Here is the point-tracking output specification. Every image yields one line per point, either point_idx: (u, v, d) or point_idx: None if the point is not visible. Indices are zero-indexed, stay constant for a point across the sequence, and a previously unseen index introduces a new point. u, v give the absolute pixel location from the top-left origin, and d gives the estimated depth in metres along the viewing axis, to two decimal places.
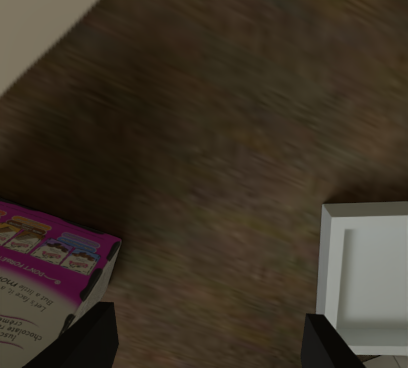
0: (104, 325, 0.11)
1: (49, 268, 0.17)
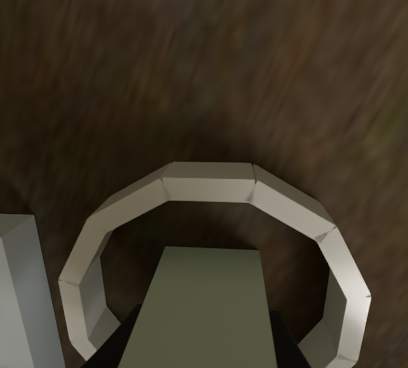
0: None
1: None
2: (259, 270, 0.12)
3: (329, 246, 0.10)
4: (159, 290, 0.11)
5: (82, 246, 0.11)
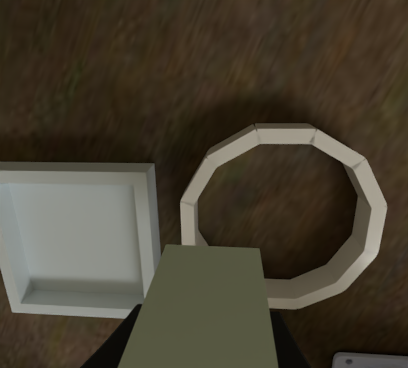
0: None
1: None
2: (259, 268, 0.12)
3: (361, 172, 0.17)
4: (160, 288, 0.11)
5: (199, 177, 0.17)
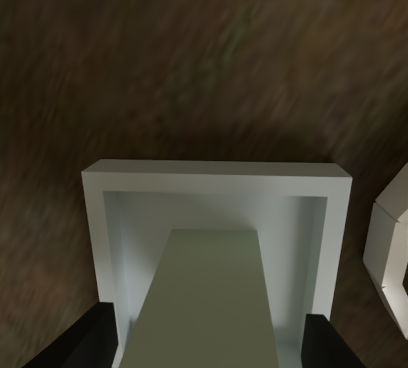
0: (104, 325, 0.11)
1: None
2: (257, 247, 0.13)
3: None
4: (168, 264, 0.12)
5: None
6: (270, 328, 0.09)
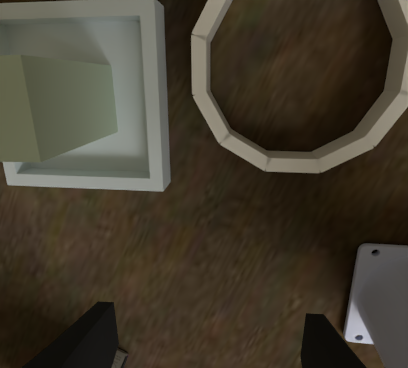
0: (104, 325, 0.11)
1: None
2: None
3: None
4: None
5: (213, 0, 0.16)
6: (53, 59, 0.13)
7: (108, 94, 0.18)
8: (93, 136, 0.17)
